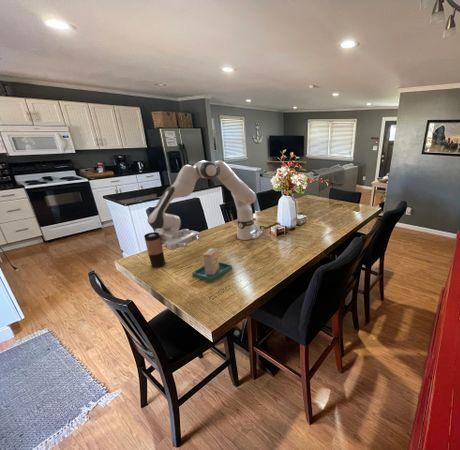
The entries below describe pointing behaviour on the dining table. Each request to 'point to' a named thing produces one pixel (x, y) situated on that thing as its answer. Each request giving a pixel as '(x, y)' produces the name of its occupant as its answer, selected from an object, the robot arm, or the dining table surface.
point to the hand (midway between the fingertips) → (192, 242)
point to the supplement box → (211, 261)
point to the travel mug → (155, 249)
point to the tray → (221, 271)
